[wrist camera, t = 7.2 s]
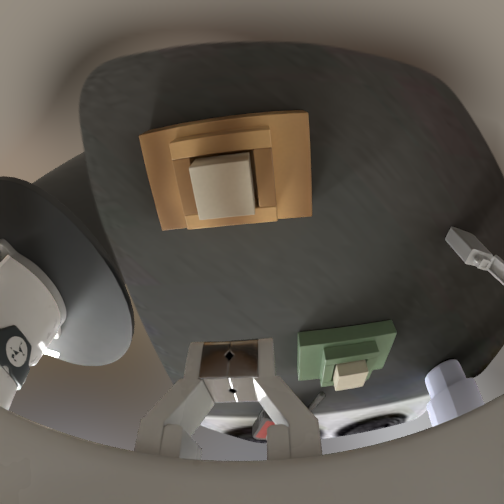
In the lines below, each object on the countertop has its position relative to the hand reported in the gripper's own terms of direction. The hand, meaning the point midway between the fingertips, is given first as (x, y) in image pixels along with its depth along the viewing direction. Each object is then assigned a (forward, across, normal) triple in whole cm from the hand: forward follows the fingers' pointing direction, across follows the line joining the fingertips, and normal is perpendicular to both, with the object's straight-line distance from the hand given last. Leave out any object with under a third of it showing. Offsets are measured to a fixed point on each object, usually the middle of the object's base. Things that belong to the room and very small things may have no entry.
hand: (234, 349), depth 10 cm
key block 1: (+15, +1, -2) cm, 16 cm away
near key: (+12, +1, -2) cm, 12 cm away
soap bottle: (+15, -32, +36) cm, 50 cm away
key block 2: (+15, -10, +22) cm, 28 cm away
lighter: (+15, -24, +7) cm, 29 cm away
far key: (+12, -10, +22) cm, 27 cm away
